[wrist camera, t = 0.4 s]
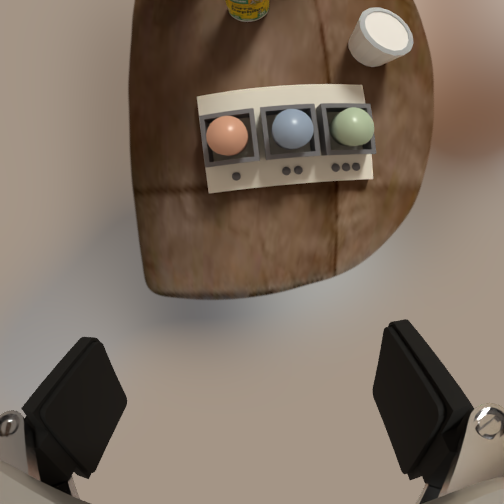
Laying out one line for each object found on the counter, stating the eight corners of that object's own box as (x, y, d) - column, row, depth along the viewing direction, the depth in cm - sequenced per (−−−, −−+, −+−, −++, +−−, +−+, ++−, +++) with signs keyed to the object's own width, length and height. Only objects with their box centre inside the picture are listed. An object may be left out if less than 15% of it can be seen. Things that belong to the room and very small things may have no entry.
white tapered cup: (398, 51, 27) (422, 35, 21) (375, 80, 29) (398, 66, 22) (359, 20, 26) (376, -2, 19) (333, 47, 28) (348, 26, 21)
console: (199, 99, 31) (191, 90, 27) (358, 87, 30) (370, 79, 25) (211, 192, 34) (203, 196, 30) (368, 178, 33) (382, 180, 29)
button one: (210, 123, 29) (204, 119, 25) (246, 118, 29) (244, 113, 25) (214, 158, 30) (208, 157, 27) (250, 153, 30) (249, 152, 26)
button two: (269, 116, 28) (270, 110, 25) (305, 113, 28) (310, 107, 25) (273, 151, 30) (275, 149, 26) (309, 148, 29) (315, 146, 26)
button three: (327, 112, 28) (335, 107, 25) (360, 112, 28) (371, 107, 24) (331, 147, 29) (339, 145, 26) (364, 146, 29) (376, 145, 26)
